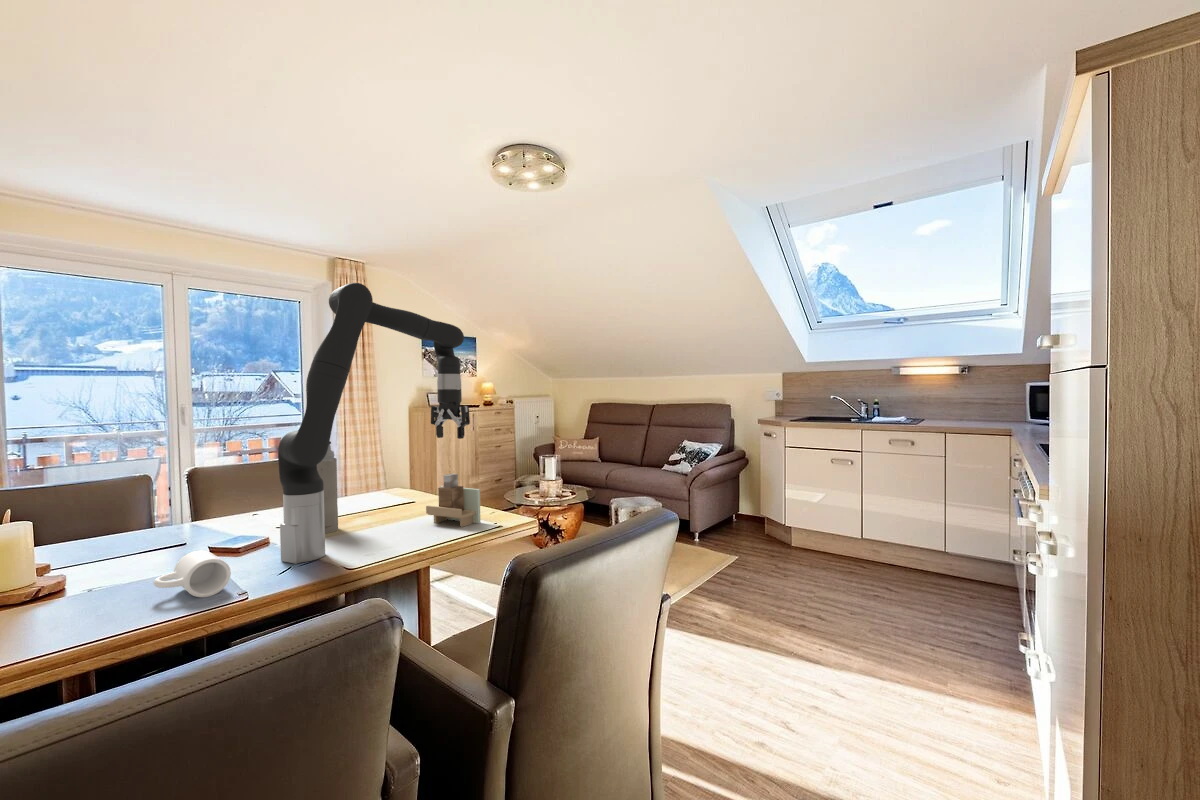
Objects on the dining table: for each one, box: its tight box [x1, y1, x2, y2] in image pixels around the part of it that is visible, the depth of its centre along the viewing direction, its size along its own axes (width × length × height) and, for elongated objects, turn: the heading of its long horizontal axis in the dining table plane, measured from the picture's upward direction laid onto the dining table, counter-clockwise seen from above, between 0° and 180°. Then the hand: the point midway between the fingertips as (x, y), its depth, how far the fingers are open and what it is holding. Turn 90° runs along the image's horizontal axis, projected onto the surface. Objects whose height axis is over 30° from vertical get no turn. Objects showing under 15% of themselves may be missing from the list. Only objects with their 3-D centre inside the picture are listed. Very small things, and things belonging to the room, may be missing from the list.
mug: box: [153, 550, 232, 598], centre depth 111 cm, size 12×10×8 cm
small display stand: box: [425, 485, 481, 527], centre depth 167 cm, size 9×16×11 cm, turn 65°
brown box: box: [438, 473, 464, 511], centre depth 167 cm, size 5×6×12 cm
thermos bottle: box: [317, 441, 339, 534], centre depth 161 cm, size 8×8×28 cm
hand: (450, 438), depth 167 cm, fingers open, 8 cm apart
